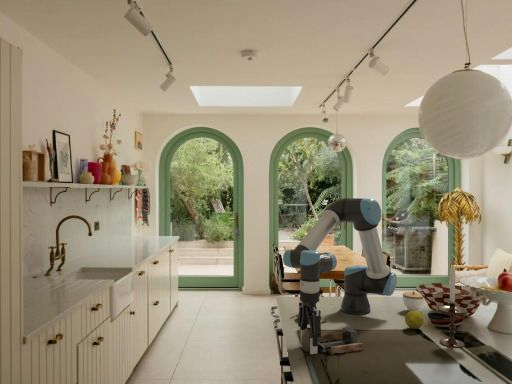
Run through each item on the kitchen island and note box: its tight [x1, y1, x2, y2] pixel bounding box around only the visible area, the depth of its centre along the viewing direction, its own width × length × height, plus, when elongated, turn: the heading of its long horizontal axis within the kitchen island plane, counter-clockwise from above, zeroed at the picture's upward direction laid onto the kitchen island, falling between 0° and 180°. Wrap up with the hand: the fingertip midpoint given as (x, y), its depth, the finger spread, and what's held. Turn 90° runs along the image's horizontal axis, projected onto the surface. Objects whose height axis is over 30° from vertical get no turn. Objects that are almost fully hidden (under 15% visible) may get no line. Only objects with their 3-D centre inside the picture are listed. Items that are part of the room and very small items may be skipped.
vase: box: [300, 327, 319, 353], centre depth 163 cm, size 7×7×9 cm
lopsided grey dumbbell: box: [317, 326, 358, 353], centre depth 167 cm, size 16×9×6 cm, turn 110°
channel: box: [318, 331, 364, 355], centre depth 168 cm, size 14×14×3 cm
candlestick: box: [437, 258, 468, 349], centre depth 171 cm, size 11×11×35 cm
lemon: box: [404, 310, 425, 330], centre depth 190 cm, size 11×8×8 cm
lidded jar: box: [402, 290, 425, 312], centre depth 221 cm, size 11×11×9 cm
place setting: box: [290, 312, 328, 324], centre depth 208 cm, size 18×20×6 cm
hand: (308, 350), depth 163 cm, fingers open, 7 cm apart
